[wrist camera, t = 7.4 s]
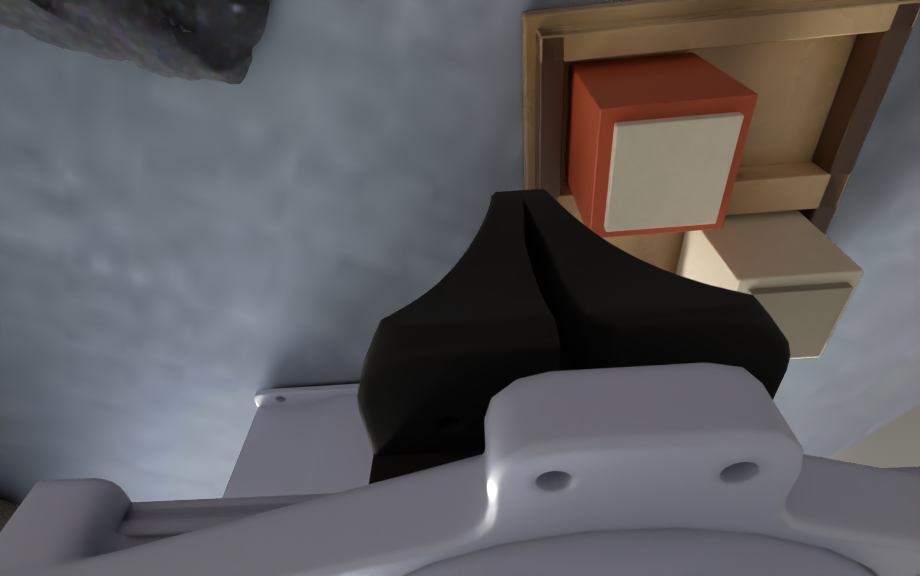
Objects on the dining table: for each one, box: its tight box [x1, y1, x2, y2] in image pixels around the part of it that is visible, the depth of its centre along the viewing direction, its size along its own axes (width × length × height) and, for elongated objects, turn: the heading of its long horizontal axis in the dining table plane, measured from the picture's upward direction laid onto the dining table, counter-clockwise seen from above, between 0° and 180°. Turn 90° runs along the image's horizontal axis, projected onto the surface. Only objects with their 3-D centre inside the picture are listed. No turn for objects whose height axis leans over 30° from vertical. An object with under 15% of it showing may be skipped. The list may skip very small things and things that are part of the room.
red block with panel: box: [565, 52, 758, 238], centre depth 16 cm, size 4×4×5 cm
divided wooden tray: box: [522, 0, 920, 274], centre depth 19 cm, size 12×13×2 cm
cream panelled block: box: [676, 210, 864, 359], centre depth 19 cm, size 4×4×5 cm
